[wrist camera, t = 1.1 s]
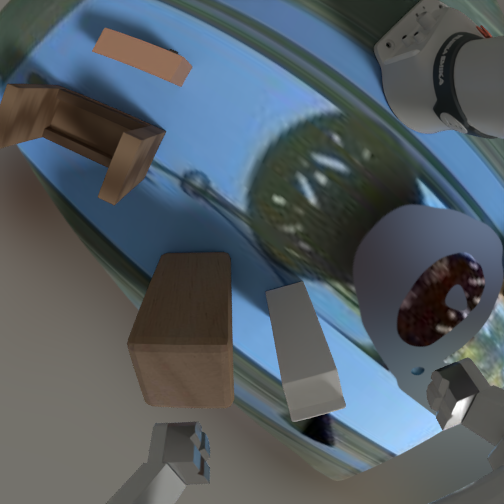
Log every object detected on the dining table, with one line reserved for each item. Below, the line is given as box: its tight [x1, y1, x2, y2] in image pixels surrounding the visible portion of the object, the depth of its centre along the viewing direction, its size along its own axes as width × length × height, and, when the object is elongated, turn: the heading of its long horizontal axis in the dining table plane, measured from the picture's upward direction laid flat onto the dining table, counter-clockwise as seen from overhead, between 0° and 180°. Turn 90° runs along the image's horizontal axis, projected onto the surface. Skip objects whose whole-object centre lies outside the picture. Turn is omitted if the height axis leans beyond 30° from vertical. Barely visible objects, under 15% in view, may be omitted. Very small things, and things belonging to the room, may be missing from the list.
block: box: [127, 252, 234, 408], centre depth 38 cm, size 10×10×20 cm
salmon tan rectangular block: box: [92, 28, 192, 87], centre depth 30 cm, size 4×10×8 cm, turn 61°
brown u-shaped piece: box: [0, 84, 166, 205], centre depth 32 cm, size 7×18×12 cm, turn 61°
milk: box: [265, 281, 346, 422], centre depth 40 cm, size 6×6×22 cm
